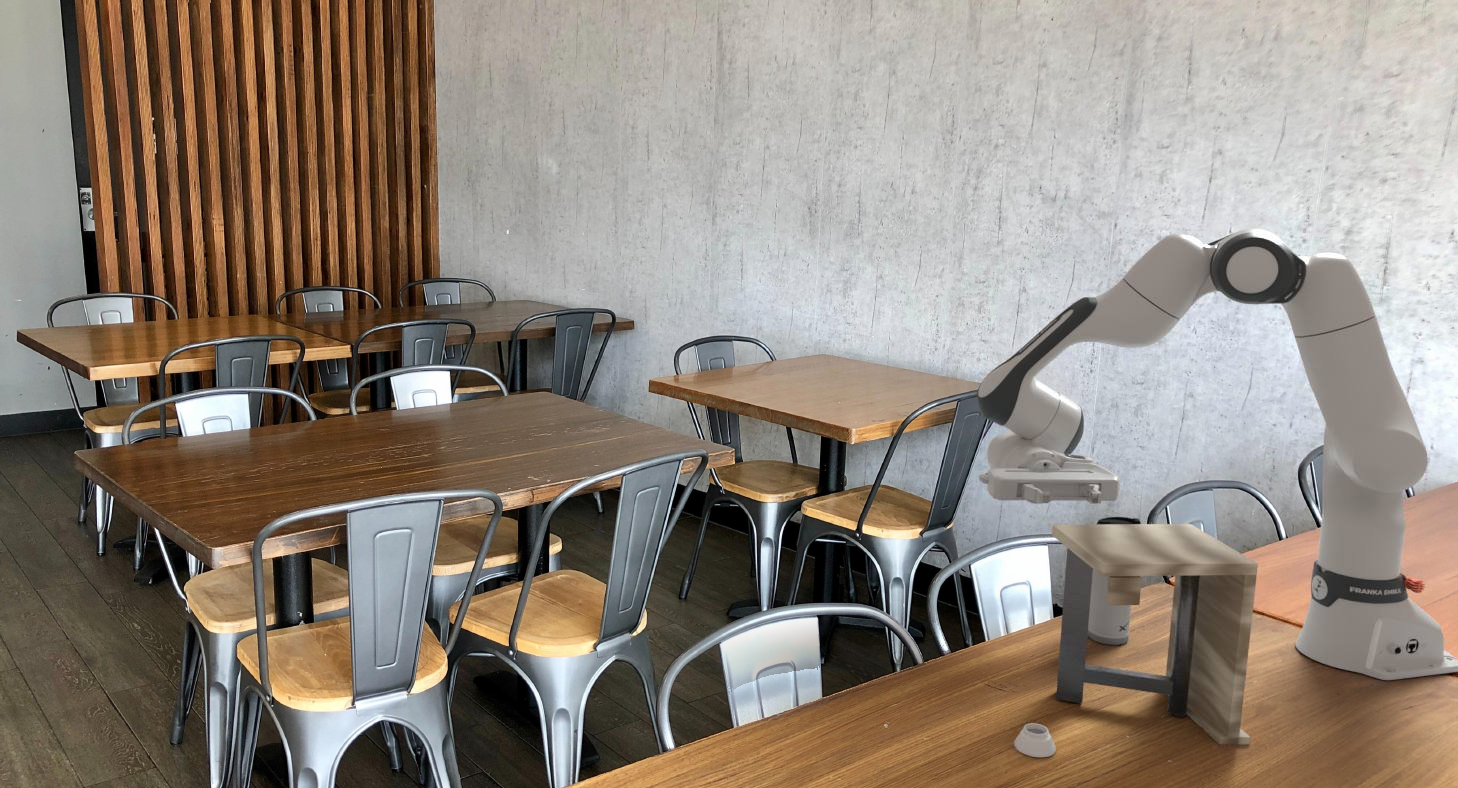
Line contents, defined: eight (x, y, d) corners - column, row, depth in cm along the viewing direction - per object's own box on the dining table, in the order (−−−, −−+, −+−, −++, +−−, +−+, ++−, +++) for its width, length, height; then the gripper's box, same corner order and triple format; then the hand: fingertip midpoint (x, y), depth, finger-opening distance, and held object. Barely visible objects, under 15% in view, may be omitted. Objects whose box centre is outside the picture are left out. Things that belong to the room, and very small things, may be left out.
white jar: (1006, 747, 137) (1038, 764, 133) (1007, 726, 137) (1039, 742, 133) (1031, 736, 140) (1063, 752, 136) (1032, 715, 139) (1064, 731, 135)
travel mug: (1133, 647, 169) (1144, 525, 166) (1089, 643, 170) (1099, 522, 167) (1127, 632, 175) (1137, 514, 172) (1085, 628, 176) (1094, 511, 173)
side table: (1184, 686, 155) (1200, 524, 151) (1249, 744, 139) (1269, 563, 134) (1040, 688, 154) (1052, 524, 150) (1089, 748, 137) (1104, 564, 133)
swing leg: (1185, 708, 148) (1200, 552, 144) (1187, 719, 145) (1203, 560, 141) (1056, 688, 153) (1068, 538, 149) (1055, 699, 150) (1067, 545, 146)
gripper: (976, 456, 173) (1004, 477, 159) (1098, 456, 175) (1137, 478, 161) (973, 493, 174) (1001, 518, 160) (1095, 494, 176) (1133, 518, 162)
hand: (1070, 498), depth 161 cm, fingers open, 7 cm apart
